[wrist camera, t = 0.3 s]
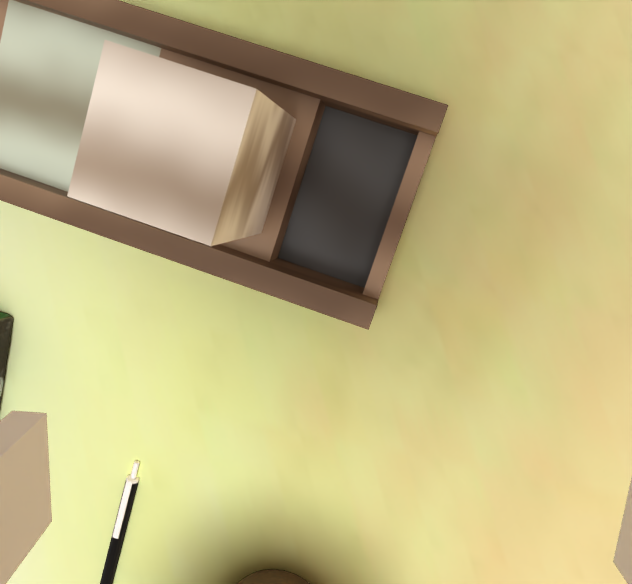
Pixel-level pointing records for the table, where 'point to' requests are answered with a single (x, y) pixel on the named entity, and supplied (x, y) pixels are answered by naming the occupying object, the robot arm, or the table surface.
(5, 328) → the chalk box
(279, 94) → the tray
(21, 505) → the robot arm
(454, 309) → the table surface
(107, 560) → the pen
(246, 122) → the cream block
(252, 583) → the plant pot
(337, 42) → the table surface
